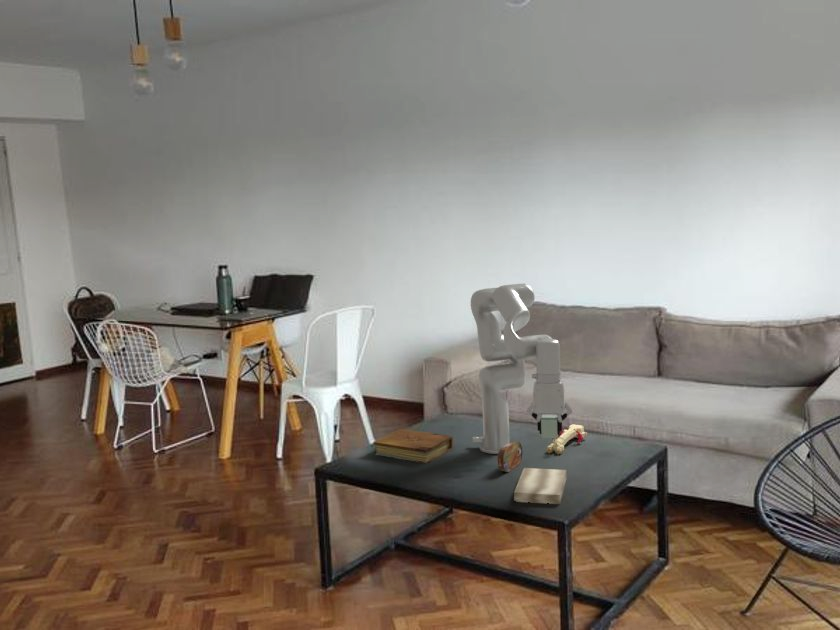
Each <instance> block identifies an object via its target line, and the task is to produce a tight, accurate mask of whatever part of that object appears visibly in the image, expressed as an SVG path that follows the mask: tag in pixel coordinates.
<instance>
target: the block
mask: <svg viewBox="0 0 840 630" xmlns="http://www.w3.org/2000/svg"><path fill="white" fill-rule="evenodd" d="M557 422H558V418H557V415H556V414H542V416H541V434H540V435H541V436H540V437H541V439H543V438H544V439H552V438H556V439H558V432H557Z"/></svg>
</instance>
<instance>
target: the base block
mask: <svg viewBox="0 0 840 630" xmlns="http://www.w3.org/2000/svg"><path fill="white" fill-rule="evenodd" d="M566 482H567V469H556V468H555V469H554V468H553V469H552V468H536V467H535V468H533V467H524V468H523V470H522V472H521V474H520V477H519V479H518V481H517V484H516V486H515V489H514V490H513V502H514V501H516V503H528V502H530V504H531V503H532V504H545V505H546V504H547V503H549V504H548V505H560V504H561V502H562V497H563V494H564V491H565V485H566Z"/></svg>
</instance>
